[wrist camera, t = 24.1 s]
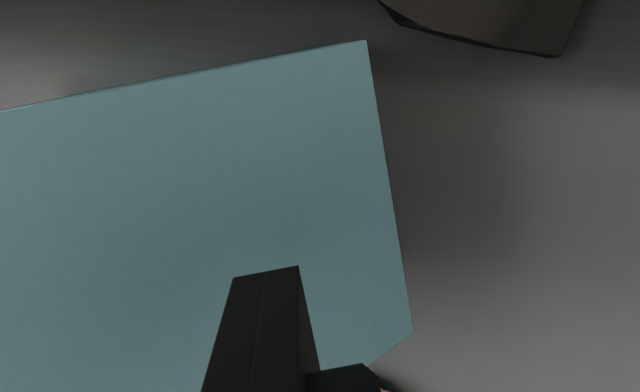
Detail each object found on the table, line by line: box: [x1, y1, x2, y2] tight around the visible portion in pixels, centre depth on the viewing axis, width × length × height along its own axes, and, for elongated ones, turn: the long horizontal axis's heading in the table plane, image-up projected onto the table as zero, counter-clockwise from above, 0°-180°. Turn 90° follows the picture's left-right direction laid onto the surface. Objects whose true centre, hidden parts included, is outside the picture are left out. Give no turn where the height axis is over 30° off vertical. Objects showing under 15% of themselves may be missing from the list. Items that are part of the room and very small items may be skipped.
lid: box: [0, 40, 413, 392], centre depth 17 cm, size 14×12×1 cm
